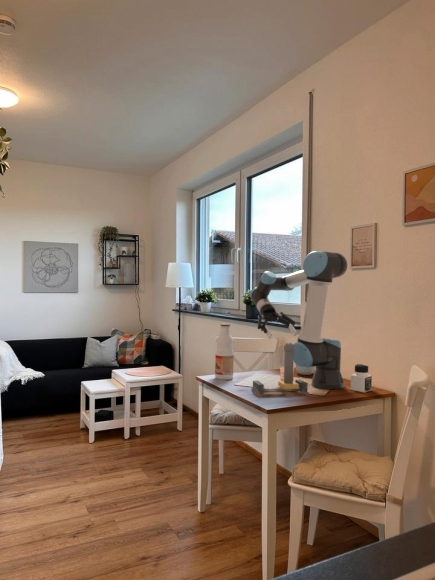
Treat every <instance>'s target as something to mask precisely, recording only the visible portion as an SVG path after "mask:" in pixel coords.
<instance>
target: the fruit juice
mask: <svg viewBox="0 0 435 580" xmlns="http://www.w3.org/2000/svg"><path fill="white" fill-rule="evenodd" d="M230 328H231V324H230V323H220V333H219V335H217V337H216V339H215V343H216V348H215V355H214V356H215V357H214V359H215V360H214V361H215V364H214V366H215V367H214V377H215V379H217V380H224V381H226V380H231V379H233V378H234V354H235V352H234V347H233V345H234V342H235V341H234V337H233V336H232V335H231V332H230V331H231V330H230Z"/></svg>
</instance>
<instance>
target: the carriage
mask: <svg viewBox="0 0 435 580" xmlns="http://www.w3.org/2000/svg"><path fill="white" fill-rule="evenodd" d="M294 349H295V347H294V343H292V342H286V343H284V346H283V351H284V358H283V359H284V361H283V363H284V364H283V365H284V366H283V380H278V381H277V386H278V387H281V388H283V389H299V384H298V383H296V382H295V381H294V361H293V356H294Z"/></svg>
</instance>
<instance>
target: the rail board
mask: <svg viewBox="0 0 435 580" xmlns="http://www.w3.org/2000/svg"><path fill="white" fill-rule="evenodd" d="M294 382H296V383H298V384H299V389H283V388H281V387H280V386H278V387H277V386H273V387H265V385H264V383H262V382H261V381H259V380H252V388H251V390H250V391H251V392H252V393H253V394H255V395H256V396H257V397H258V398H279V397H280V398H281V397H285V398H286V397H306V396H308V397H309V396H310V392H309V391H308V384H309V383H308V382H306V381H304V380H302V379H301V378H300V379H299V378H298V379H295V381H294Z"/></svg>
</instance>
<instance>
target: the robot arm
mask: <svg viewBox="0 0 435 580" xmlns="http://www.w3.org/2000/svg"><path fill="white" fill-rule="evenodd" d="M347 270H348V261H347V258H346V257H345V256H344V255H342V254H341V253H339V252H331V251H324V250H323V251H322V250H315V251H314V250H313V251H311V252H310V253H308V254H307V255H306V256H305V258H304V259H303V262H302V270H299V271H295V272H293V273H290V274H288V275H284V276H277V275H276V273H273V271H269V270H266V271H264V272H263V274H262V275H261V277H260V278H259V282H258V284H257V285H256V287H254V288H252V289H251V290H250V292H249V297H250V299H251V301H252V302H253V304H254V305H255V307H256V309H257V311H258V312H259V313H258V315H257V320H258V321H257V330H260V331H261V332H263V333H264V334H265V335H266V336H267V338H268V339H272V335H273V334H272V332H271V331H270V328H269V327H268V326H267V324H268V323H270V322H271V323H272V322H276V323H281V324H282V325H284V326H286V327H288V330H290V333H291V334H292V335H293V337H296V335H297V333H298V331H297V329H296V326H295V324H296V321H295V320H293V319H292V318H290V317H289V316H287V315H286V314H284V312H282V311H281V312H279V313H278V312H277V310H276V308H275V307H274V305H273V304H272V302H271V301H270V299H269V295H270V293H271V292H272V291H288V292H289V291H293V290H294V289H295V288H298V287H301V286H304V285H308V289H307V295H306V302H305V303H306V304H305V309H304V316H303V321H302V322H303V323H302V329H301V334H299V335H298V336H297V341H296V342H295V343H293V345H294V347H295V349H294V356H293V364H295V366H296V365H298V366H299V367H306V368H309V367H313V366H315V371H314V372H313V376H312V379H311V386H313V387H314V388H318V389H323V390H340V389H343V388H344V387H345V385H344V384H345V383H344V380H343V379H344V378H343V375H342V373H341V372H342V371H341V359H342V358H341V355H342V346H341V345H342V343H341V341H340V340H338V339H331V338H325V337H321V334H322V329H323V320H324V316H325V315H324V314H325V310H326V309H325V308H326V301H327V295H328V290H329V289H328V288H329V285H331V284H332V283H333V279H336V278H340V277H342V276H343V275H344V274H345V273H346V272H347ZM262 319H264V321H263V322H262Z"/></svg>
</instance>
